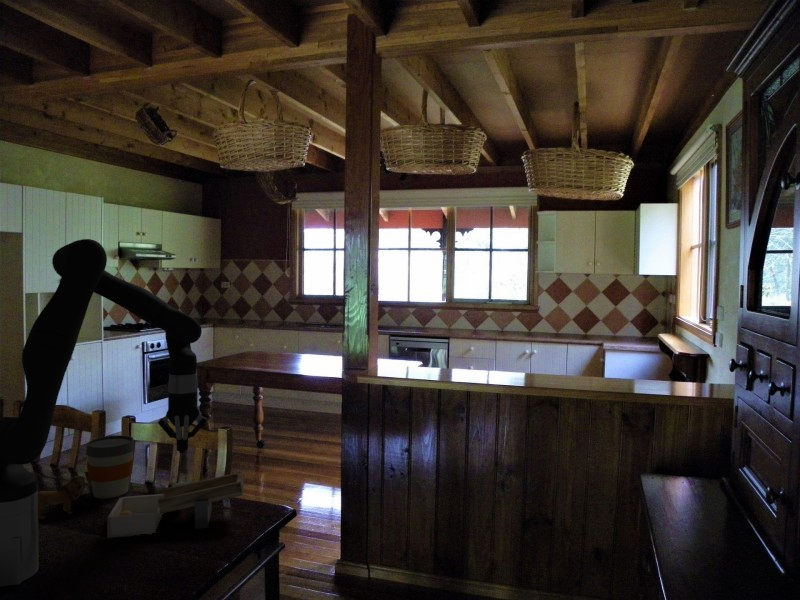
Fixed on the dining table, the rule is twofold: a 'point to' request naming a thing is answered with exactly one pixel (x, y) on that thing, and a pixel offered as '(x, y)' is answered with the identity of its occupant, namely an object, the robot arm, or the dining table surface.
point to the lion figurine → (62, 495)
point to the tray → (134, 516)
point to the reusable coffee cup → (110, 465)
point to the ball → (126, 512)
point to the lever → (201, 492)
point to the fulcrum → (202, 513)
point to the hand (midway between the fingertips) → (182, 452)
